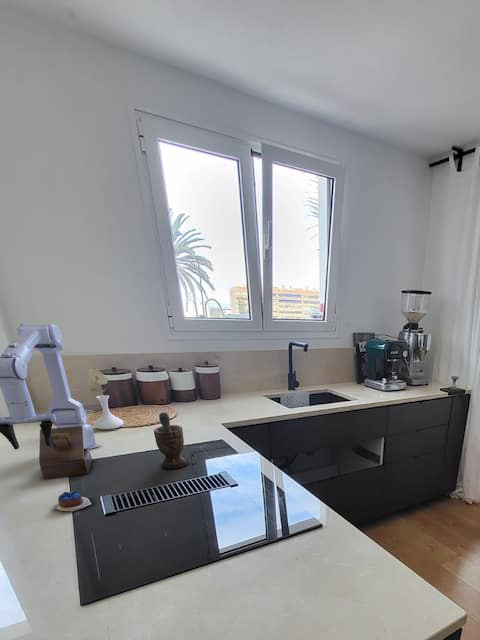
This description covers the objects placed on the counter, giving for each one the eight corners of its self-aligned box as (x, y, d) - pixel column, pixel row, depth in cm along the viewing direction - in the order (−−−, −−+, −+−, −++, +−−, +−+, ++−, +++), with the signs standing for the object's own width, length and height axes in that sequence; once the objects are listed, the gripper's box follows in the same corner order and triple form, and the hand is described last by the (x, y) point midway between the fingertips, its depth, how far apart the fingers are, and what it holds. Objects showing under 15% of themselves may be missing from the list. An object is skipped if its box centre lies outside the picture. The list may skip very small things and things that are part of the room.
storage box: (52, 464, 132) (48, 452, 130) (92, 460, 137) (88, 447, 135) (44, 479, 121) (39, 465, 119) (87, 473, 126) (84, 460, 124)
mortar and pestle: (195, 468, 132) (186, 410, 124) (168, 475, 127) (157, 414, 119) (182, 459, 140) (173, 403, 132) (157, 464, 135) (145, 407, 127)
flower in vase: (129, 427, 174) (117, 369, 164) (103, 433, 165) (88, 372, 155) (114, 422, 180) (101, 366, 170) (87, 427, 171) (72, 369, 161)
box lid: (40, 430, 126) (35, 421, 122) (82, 427, 131) (78, 417, 127) (39, 465, 119) (34, 456, 116) (84, 460, 124) (80, 451, 121)
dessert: (47, 506, 104) (56, 485, 105) (71, 510, 110) (79, 490, 111) (67, 514, 101) (77, 493, 102) (90, 518, 107) (99, 497, 108)
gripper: (-19, 406, 105) (-2, 454, 111) (47, 402, 112) (60, 447, 117) (-11, 401, 111) (5, 446, 117) (51, 397, 117) (64, 441, 123)
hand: (33, 446), depth 117 cm, fingers open, 7 cm apart
